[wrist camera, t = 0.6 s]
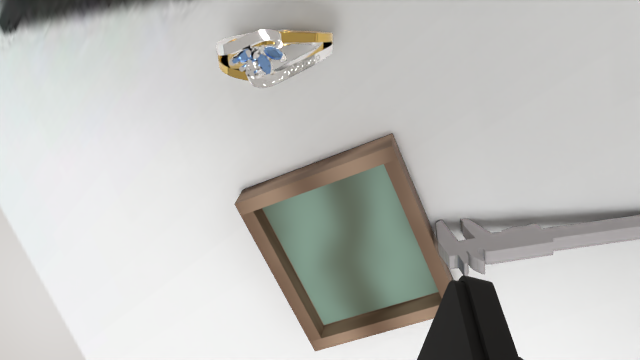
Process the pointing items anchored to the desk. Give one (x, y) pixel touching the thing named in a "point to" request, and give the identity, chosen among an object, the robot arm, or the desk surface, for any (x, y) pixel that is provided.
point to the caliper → (526, 241)
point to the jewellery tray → (349, 244)
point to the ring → (270, 54)
